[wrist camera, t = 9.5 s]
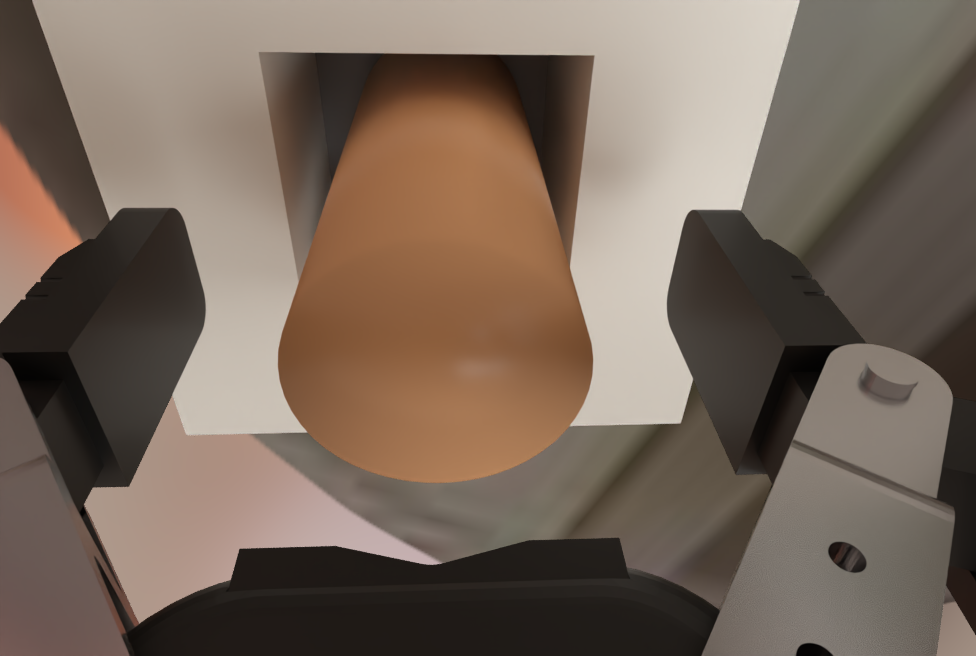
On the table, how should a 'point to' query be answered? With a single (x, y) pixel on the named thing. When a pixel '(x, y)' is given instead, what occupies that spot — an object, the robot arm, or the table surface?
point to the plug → (436, 284)
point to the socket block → (327, 120)
